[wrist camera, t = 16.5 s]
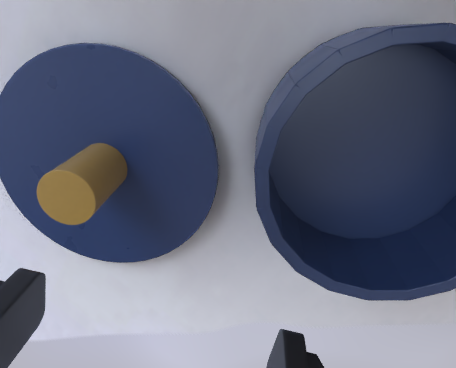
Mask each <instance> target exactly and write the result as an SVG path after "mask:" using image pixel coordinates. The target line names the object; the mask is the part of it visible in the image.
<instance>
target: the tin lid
mask: <svg viewBox="0 0 456 368" xmlns="http://www.w3.org/2000/svg"><path fill="white" fill-rule="evenodd" d="M218 166H219V165H218V156H217V149H216V145H215V141H214V137H213V134H212V131H211V129H210V126H209V123H208V121H207V119H206V117H205V115H204V114H203V112H202V110H201V108H200V106H199V105H198V104H197V102H196V101H195V99H194V98H193V97H192V95H191V94H190V93H189V92H188V90H187V89H186V88H185V87H184V86H183V85H182V84H181V83H180V82H179V81H178V80H177V79H176V78H175V77H174V76H172V75H171V74H170V73H169V72H168V71H166V70H165V69H164V68H162V67H161V66H159V65H158V64H156V63H155V62H153V61H152V60H150V59H148V58H146V57H144V56H141V55H139V54H137V53H135V52H132V51H129V50H126V49H123V48H120V47H116V46H111V45H106V44H96V43H80V44H70V45H64V46H61V47H57V48H53V49H50V50H48V51H46V52H43V53H41V54H39V55H37V56H35V57H34V58H32V59H31V60H29V61H28V62H26V63H25V64H24V65H23V66H22V67H21V68H20V69H18V70H17V71H16V72H15V73H14V75H13V76H12V77H11V79H10V80H9V81H8V82H7V84H6V85H5V87H4V89H3V91H2V93H1V95H0V178H1V180H2V182H3V184H4V186H5V188H6V190H7V192H8V194H9V196H10V197H11V199H12V200H13V202H14V203H15V205H16V206H17V207H18V209H19V210H20V211H21V212H22V214H23V215H24V216H25V217H26V218H27V219H28V220H29V221H30V222H31V223H32V224H33V225H34V226H35V227H36V228H37V229H38V230H40V231H41V232H42V233H43V234H44V235H46V236H47V237H49V238H50V239H51V240H53V241H54V242H56V243H58V244H59V245H61V246H63V247H65V248H67V249H69V250H71V251H73V252H76V253H78V254H80V255H83V256H86V257H90V258H93V259H97V260H102V261H108V262H138V261H145V260H149V259H152V258H156V257H159V256H161V255H164V254H166V253H168V252H170V251H172V250H174V249H175V248H177V247H179V246H180V245H182V244H183V243H184V242H185V241H187V240H188V239H189V238H190V237H191V236H192V235H193V234H194V233H195V232H196V231H197V230H198V229H199V227H200V226H201V224H202V223H203V221H204V220H205V218H206V216H207V214H208V212H209V210H210V208H211V206H212V203H213V200H214V197H215V194H216V188H217V183H218Z"/></svg>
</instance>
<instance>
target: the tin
mask: <svg viewBox="0 0 456 368" xmlns="http://www.w3.org/2000/svg"><path fill="white" fill-rule="evenodd" d="M254 172H255V191H256V207H257V211H258V214H259V216H260V218H261V221H262V223H263V225H264V228H265V230H266V233H267V235H268V237H269V240H270V242H271V243H272V245H273V246H274V247H275V248H276V250H277V251H278V252H279V253H280V254H281V255H282V256H283V257H284V258H285V260H286V261H287V262H288V263H289V264H290V265H291V266H292V267H293V268H294V270H295V271H297V272H298V273H300V274H301V275H303V276H305V277H306V278H308V279H310V280H312V281H313V282H315V283H317V284H318V285H320V286H322V287H324V288H325V289H327V290H330V291H333V292H337V293H341V294H345V295H348V296H352V297H356V298H360V299H364V300H413V299H417V298H421V297H425V296H430V295H434V294H438V293H442V292H446V291H451V290H453V289H455V288H456V24H452V23H431V24H409V25H393V26H381V27H368V28H361V29H357V30H354V31H352V32H349V33H346V34H344V35H341V36H338V37H336V38H333V39H332V40H330V41H328V42H325V43H323V44H321V45H319V46H318V47H316V48H315V49H314V50H313V51H311V52H310V53H308V54H307V55H305V56H304V57H303V58H302V59H301V60H300V61H299V62H297V63H296V64H295V65H294V66H293V67H292V68H291V69H290V70H289V71H288V72H287V73H286V75H285V76H284V77H283V78H282V80H281V81H280V83H279V84H278V86H277V87H276V88H275V90H274V91H273V93H272V95H271V97H270V99H269V100H268V102H267V104H266V106H265V109H264V113H263V116H262V118H261V122H260V127H259V130H258V134H257V137H256V151H255V168H254Z"/></svg>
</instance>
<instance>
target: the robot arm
mask: <svg viewBox="0 0 456 368" xmlns="http://www.w3.org/2000/svg"><path fill="white" fill-rule="evenodd" d="M45 280H46V279H45V274H44V273H40V272H36V271H32V270H27V269H23V268H20V269H18V270H17V271H15V272H14V273H13V274H12V275H11V276H10V277H9V278H8V279H7V280H6V281H5V282H4V281H0V368H8V366H9V365H10V364H11V362H12V361H13V360H14V358H15V357H16V356H17V354H18V353H19V352H20V350H21V349H22V348H23V346H24V345H25V343H26V342H27V341H28V339H29V338H30V337H31V335H32V334H33V333H34V331H35V330H36V329H37V327H38V326H39V324H40V322H41V320H42V318H43V315H44V311H45ZM267 368H324V366H323V365H322V363H321V361H320V359H319V358H318V356H317V355H316V354H313V353H309V352H306V346H305V339H304V335H303V334H300V333H296V332H292V331H288V330H284V329H280V331H279V333H278V335H277V338H276V341H275V343H274V346H273V349H272V351H271V354H270V357H269V360H268V363H267Z"/></svg>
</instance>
